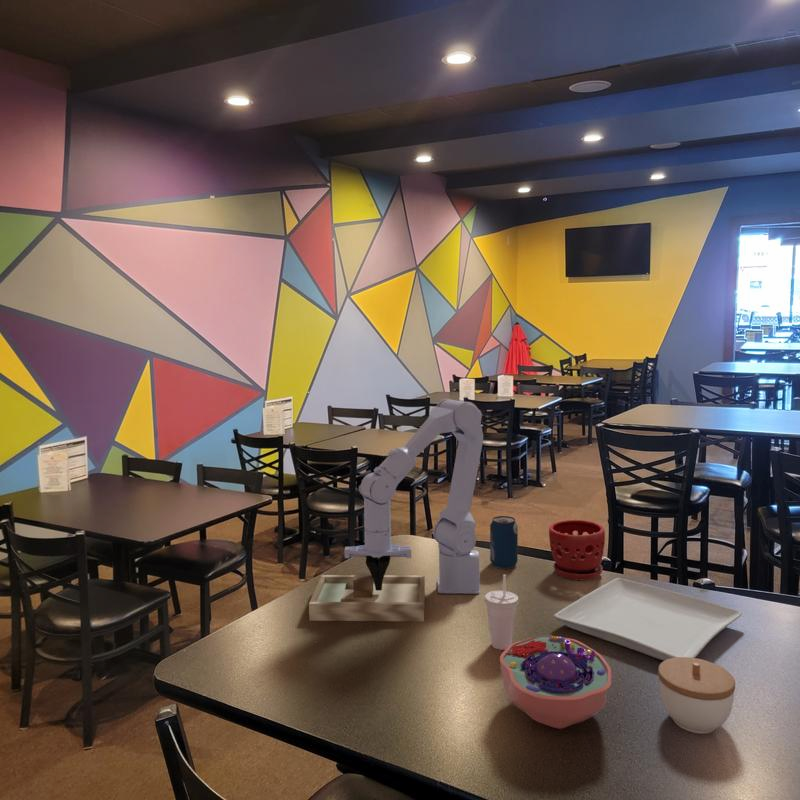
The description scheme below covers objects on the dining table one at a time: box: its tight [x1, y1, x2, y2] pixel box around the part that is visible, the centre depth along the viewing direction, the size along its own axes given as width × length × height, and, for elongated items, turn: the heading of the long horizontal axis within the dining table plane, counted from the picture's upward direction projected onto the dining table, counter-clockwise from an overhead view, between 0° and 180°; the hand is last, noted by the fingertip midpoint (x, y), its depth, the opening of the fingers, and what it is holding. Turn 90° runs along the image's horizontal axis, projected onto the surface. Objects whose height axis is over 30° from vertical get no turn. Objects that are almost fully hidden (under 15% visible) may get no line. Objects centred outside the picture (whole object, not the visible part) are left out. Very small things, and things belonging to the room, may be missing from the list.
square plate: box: [553, 577, 743, 662], centre depth 133 cm, size 27×27×4 cm
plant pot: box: [548, 519, 606, 581], centre depth 162 cm, size 13×13×12 cm
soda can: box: [489, 515, 519, 570], centre depth 169 cm, size 7×7×12 cm
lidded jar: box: [657, 657, 736, 735], centre depth 101 cm, size 11×11×9 cm
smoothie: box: [484, 573, 519, 651], centre depth 126 cm, size 6×6×14 cm
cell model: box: [499, 635, 612, 729], centre depth 104 cm, size 17×20×11 cm
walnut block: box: [353, 572, 373, 598], centre depth 146 cm, size 4×4×4 cm
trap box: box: [308, 574, 426, 622], centre depth 146 cm, size 24×16×4 cm, turn 87°
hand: (378, 588), depth 146 cm, fingers closed
